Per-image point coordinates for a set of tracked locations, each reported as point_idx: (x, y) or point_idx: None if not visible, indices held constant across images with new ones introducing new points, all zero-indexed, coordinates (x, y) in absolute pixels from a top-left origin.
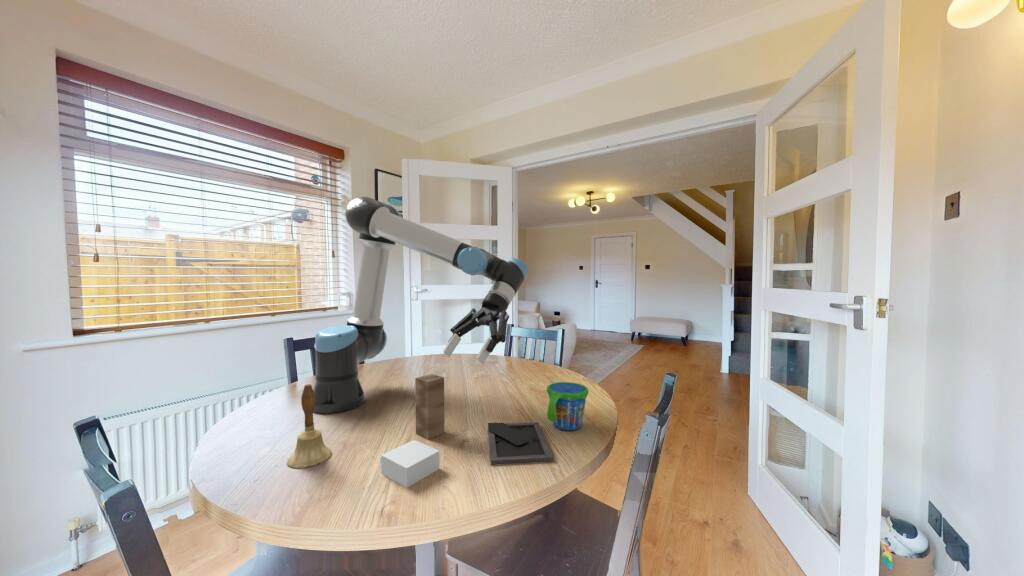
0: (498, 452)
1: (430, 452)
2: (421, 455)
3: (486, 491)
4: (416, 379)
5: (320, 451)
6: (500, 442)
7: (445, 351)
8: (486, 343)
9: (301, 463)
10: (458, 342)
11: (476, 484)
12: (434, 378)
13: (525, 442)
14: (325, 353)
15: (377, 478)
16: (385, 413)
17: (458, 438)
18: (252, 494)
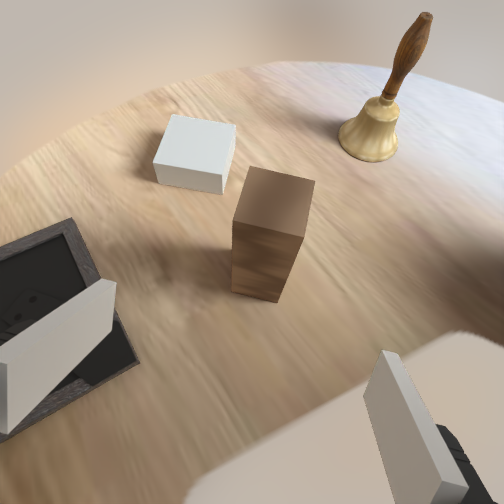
0: (68, 255)
1: (164, 153)
2: (173, 142)
3: (59, 165)
4: (308, 181)
5: (352, 130)
6: (75, 293)
7: (380, 359)
8: (33, 328)
9: (352, 118)
10: (396, 496)
11: (80, 172)
12: (254, 198)
13: (9, 308)
14: None
15: None
16: (446, 319)
17: (184, 281)
18: (336, 79)
